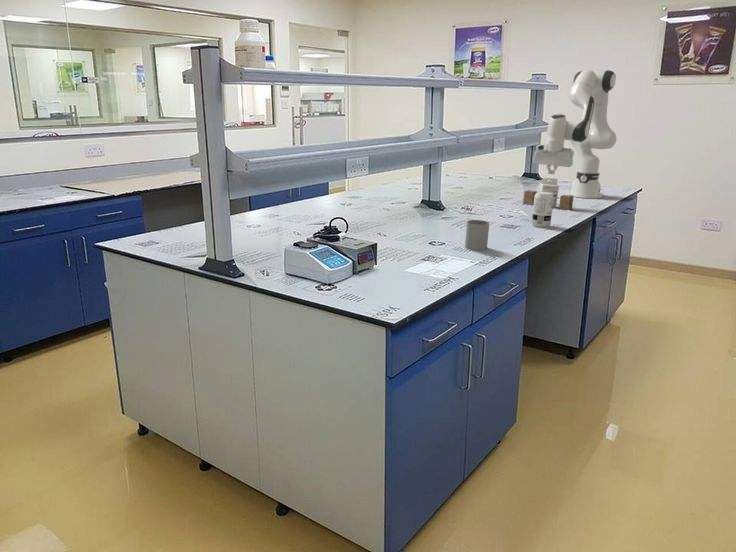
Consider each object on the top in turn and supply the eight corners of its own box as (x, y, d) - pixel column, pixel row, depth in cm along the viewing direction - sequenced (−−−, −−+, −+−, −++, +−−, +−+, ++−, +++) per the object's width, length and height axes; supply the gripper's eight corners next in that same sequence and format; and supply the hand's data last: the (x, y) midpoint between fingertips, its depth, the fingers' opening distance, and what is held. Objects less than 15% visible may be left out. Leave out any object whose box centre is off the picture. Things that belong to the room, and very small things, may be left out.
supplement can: (529, 223, 263) (533, 191, 258) (547, 224, 263) (551, 191, 258) (533, 227, 255) (537, 194, 251) (552, 228, 255) (556, 194, 251)
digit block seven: (527, 202, 314) (528, 189, 312) (535, 204, 311) (537, 191, 309) (523, 203, 310) (524, 190, 308) (531, 205, 307) (533, 192, 305)
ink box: (539, 207, 303) (543, 179, 298) (538, 205, 308) (541, 177, 303) (556, 207, 302) (559, 179, 298) (554, 206, 307) (557, 178, 302)
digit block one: (562, 208, 302) (564, 194, 300) (571, 209, 299) (573, 195, 297) (558, 209, 298) (560, 195, 296) (568, 210, 296) (570, 197, 293)
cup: (462, 249, 217) (464, 223, 213) (467, 244, 224) (469, 219, 221) (485, 251, 214) (487, 225, 211) (488, 246, 221) (491, 221, 218)
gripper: (576, 148, 291) (572, 175, 296) (538, 145, 304) (535, 171, 308) (572, 149, 287) (568, 176, 291) (533, 146, 299) (530, 172, 303)
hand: (551, 174), depth 300 cm, fingers closed
